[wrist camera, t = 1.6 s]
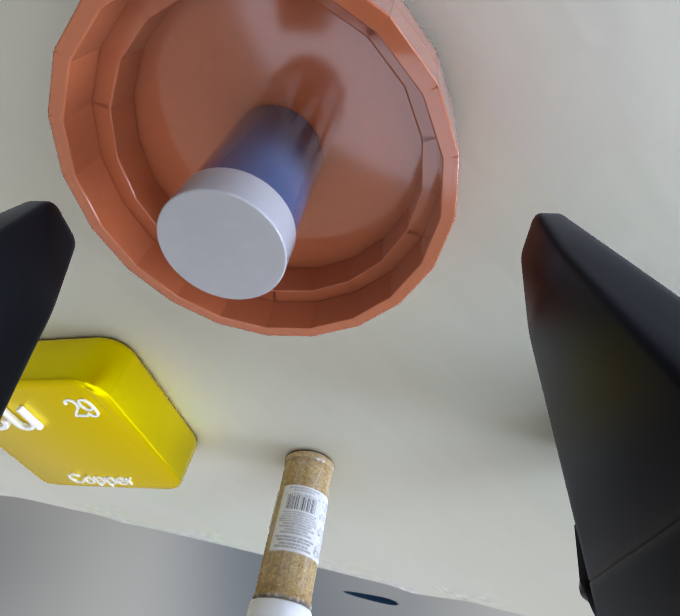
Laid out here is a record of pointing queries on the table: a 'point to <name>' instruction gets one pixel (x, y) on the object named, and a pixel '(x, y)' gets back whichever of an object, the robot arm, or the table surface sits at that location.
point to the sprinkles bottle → (294, 538)
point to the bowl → (226, 109)
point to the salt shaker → (243, 205)
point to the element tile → (95, 419)
